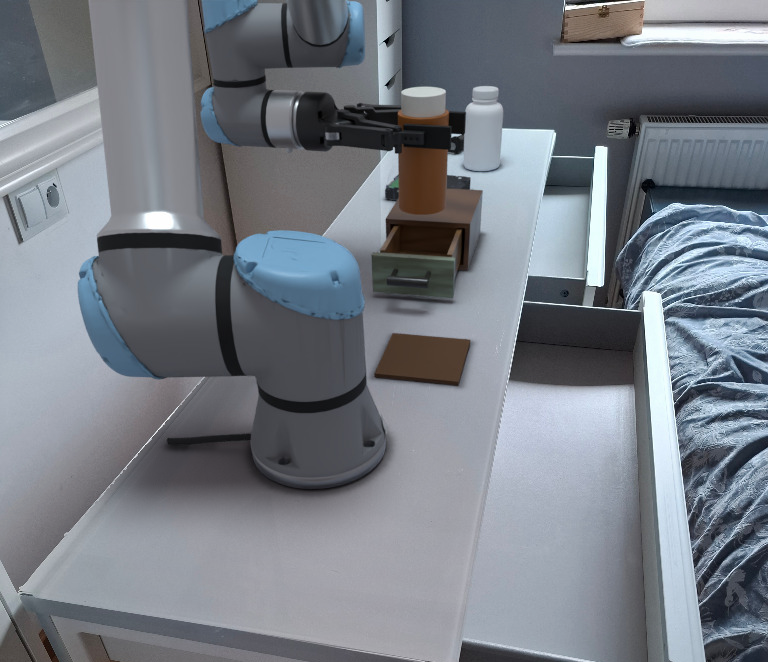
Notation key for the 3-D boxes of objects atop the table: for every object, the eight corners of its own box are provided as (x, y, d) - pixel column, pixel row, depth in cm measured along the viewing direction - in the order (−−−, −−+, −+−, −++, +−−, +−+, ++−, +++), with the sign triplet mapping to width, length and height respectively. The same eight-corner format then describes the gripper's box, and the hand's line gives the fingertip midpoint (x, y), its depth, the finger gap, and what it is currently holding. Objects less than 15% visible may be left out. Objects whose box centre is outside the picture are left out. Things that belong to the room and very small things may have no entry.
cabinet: (467, 270, 116) (470, 223, 111) (386, 265, 119) (385, 218, 114) (480, 234, 128) (482, 190, 123) (405, 230, 130) (405, 186, 125)
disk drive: (470, 191, 145) (401, 183, 149) (471, 176, 143) (401, 169, 147) (456, 208, 138) (384, 200, 142) (456, 193, 136) (384, 185, 140)
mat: (458, 385, 91) (458, 381, 90) (374, 377, 93) (374, 373, 93) (470, 343, 99) (470, 339, 98) (392, 336, 101) (392, 332, 100)
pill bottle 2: (487, 158, 160) (492, 82, 150) (506, 168, 155) (512, 90, 144) (456, 164, 158) (459, 87, 148) (474, 174, 152) (478, 94, 142)
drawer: (448, 311, 104) (449, 272, 100) (366, 304, 106) (364, 266, 103) (466, 259, 118) (468, 223, 114) (393, 254, 120) (392, 219, 116)
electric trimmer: (492, 139, 172) (493, 124, 170) (457, 154, 163) (457, 139, 161) (478, 137, 174) (479, 122, 172) (443, 152, 165) (443, 137, 163)
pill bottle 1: (407, 217, 103) (407, 99, 93) (392, 202, 108) (390, 88, 98) (453, 211, 104) (457, 94, 94) (436, 196, 109) (438, 83, 99)
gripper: (332, 131, 113) (473, 140, 107) (278, 169, 99) (437, 182, 93) (328, 77, 108) (476, 83, 102) (270, 108, 94) (438, 118, 88)
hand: (457, 130), depth 98 cm, fingers closed on pill bottle 1, 7 cm apart
